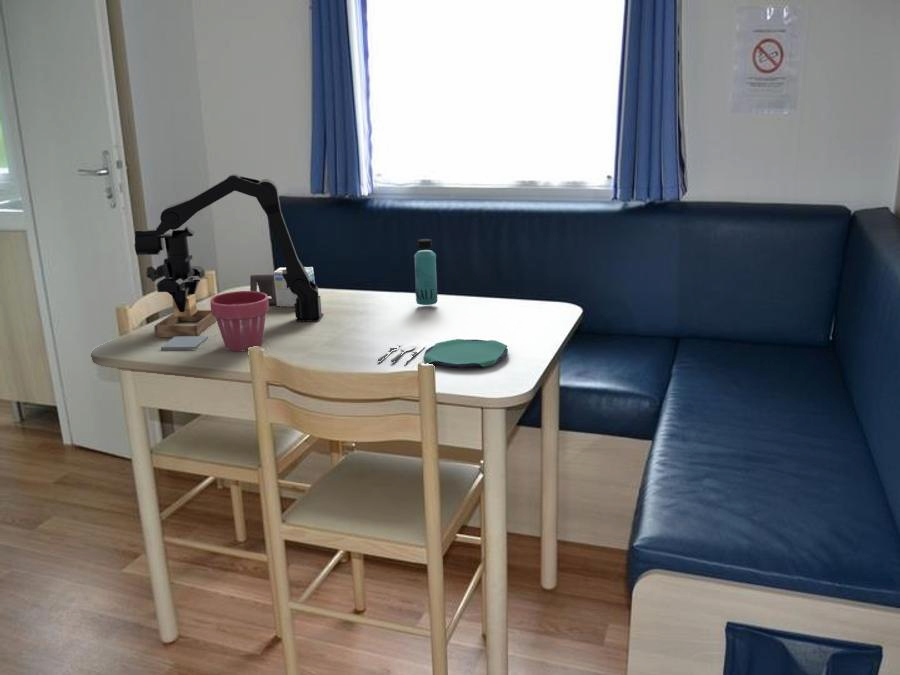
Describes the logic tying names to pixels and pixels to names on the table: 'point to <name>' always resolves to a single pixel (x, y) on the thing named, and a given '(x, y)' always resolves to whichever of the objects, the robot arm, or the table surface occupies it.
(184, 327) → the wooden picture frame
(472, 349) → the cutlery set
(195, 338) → the slate pad
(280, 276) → the light bulb box
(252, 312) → the plant pot
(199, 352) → the table surface
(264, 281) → the portable electronic device stand
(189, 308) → the beech block
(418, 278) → the beverage bottle
